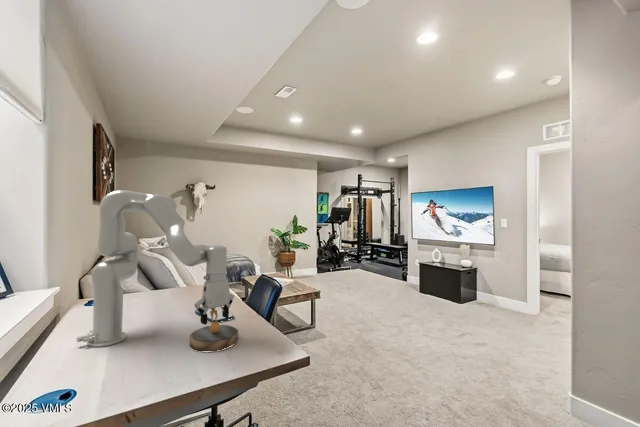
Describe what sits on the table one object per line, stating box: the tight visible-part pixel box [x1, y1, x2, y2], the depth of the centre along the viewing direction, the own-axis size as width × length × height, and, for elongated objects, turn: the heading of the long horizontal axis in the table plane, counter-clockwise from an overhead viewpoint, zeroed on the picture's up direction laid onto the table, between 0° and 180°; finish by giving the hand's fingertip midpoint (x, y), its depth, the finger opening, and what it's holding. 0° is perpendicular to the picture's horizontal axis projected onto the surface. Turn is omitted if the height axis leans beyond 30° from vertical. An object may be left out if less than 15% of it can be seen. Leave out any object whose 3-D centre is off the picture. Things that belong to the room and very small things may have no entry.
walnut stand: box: [189, 324, 239, 352], centre depth 117 cm, size 18×18×4 cm
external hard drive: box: [194, 307, 234, 323], centre depth 148 cm, size 24×12×2 cm, turn 45°
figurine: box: [209, 306, 224, 333], centre depth 117 cm, size 8×6×12 cm
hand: (215, 320), depth 117 cm, fingers open, 9 cm apart
